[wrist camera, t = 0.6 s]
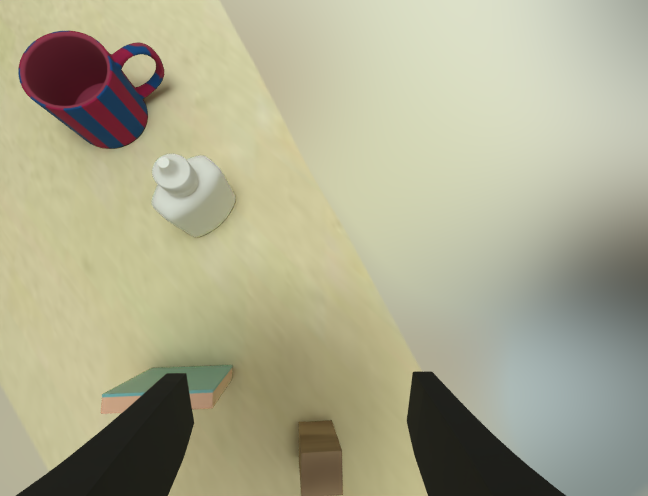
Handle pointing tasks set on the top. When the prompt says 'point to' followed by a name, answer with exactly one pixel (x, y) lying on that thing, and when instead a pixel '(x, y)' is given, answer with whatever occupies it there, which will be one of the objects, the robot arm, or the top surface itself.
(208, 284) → the top surface
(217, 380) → the tile
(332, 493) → the block
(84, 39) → the mug
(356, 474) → the top surface
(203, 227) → the eye dropper bottle
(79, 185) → the top surface
